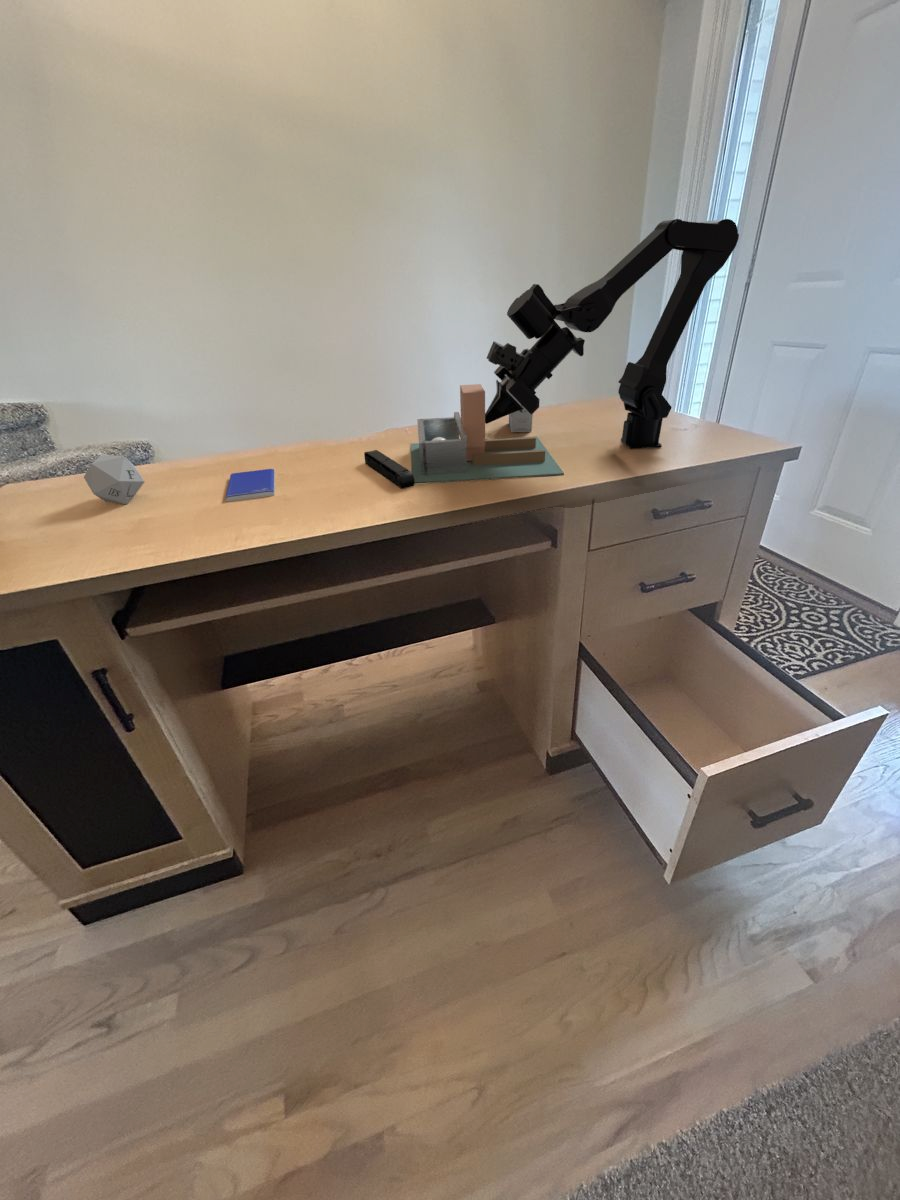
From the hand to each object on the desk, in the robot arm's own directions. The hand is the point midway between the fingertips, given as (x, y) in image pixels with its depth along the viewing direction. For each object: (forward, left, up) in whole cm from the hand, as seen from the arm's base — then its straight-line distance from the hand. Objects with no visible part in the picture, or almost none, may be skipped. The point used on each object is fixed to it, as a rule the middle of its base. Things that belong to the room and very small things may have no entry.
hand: (484, 421), depth 103 cm
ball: (+9, 0, -5) cm, 10 cm away
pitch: (+1, 0, -7) cm, 7 cm away
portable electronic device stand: (+19, +6, -8) cm, 22 cm away
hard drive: (+44, +8, -8) cm, 46 cm away
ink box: (-11, -21, -7) cm, 25 cm away
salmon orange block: (+2, 0, -7) cm, 8 cm away
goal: (+9, 0, -7) cm, 11 cm away
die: (+67, +11, -7) cm, 68 cm away
